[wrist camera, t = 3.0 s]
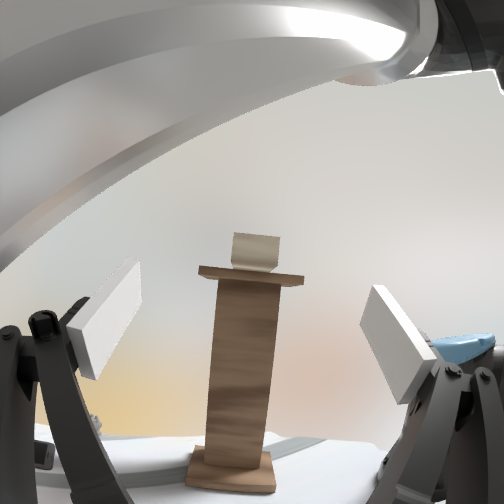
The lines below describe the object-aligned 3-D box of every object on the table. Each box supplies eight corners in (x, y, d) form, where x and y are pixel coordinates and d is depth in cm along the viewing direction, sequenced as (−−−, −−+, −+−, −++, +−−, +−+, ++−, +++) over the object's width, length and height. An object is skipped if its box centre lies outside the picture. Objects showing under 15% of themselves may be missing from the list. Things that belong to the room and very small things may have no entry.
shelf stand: (274, 492, 29) (304, 276, 33) (185, 485, 28) (199, 265, 33) (268, 458, 39) (290, 280, 43) (195, 452, 38) (208, 272, 43)
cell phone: (-18, 428, 22) (-19, 424, 22) (56, 447, 28) (55, 443, 28) (-32, 449, 15) (-33, 445, 15) (52, 473, 22) (51, 469, 22)
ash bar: (277, 265, 25) (280, 237, 25) (230, 261, 25) (233, 232, 25) (262, 278, 45) (263, 262, 45) (236, 275, 45) (237, 259, 45)
